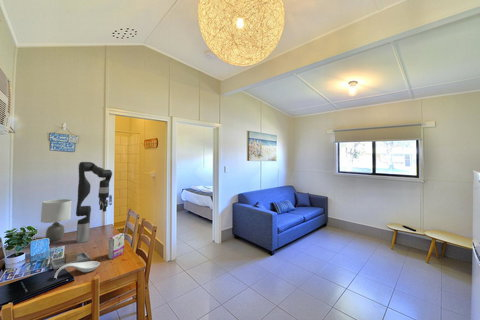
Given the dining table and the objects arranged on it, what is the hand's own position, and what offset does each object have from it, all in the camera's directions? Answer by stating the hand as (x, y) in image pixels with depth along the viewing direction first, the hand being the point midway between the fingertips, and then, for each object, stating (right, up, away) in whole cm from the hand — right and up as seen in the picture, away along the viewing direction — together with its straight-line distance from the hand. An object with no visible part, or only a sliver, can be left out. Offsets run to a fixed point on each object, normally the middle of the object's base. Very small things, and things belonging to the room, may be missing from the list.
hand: (102, 210), depth 169 cm
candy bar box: (+20, -34, -13) cm, 41 cm away
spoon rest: (+10, -33, -38) cm, 51 cm away
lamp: (-56, -32, +15) cm, 66 cm away
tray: (-6, -32, -25) cm, 41 cm away
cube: (-6, -31, -25) cm, 41 cm away
